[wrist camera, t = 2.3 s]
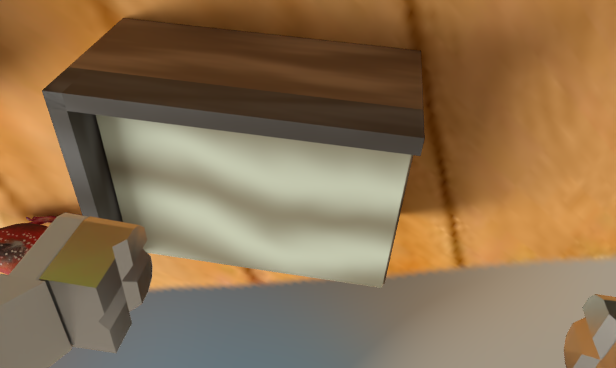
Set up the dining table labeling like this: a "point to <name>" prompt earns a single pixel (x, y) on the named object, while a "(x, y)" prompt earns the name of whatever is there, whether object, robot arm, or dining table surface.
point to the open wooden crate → (244, 145)
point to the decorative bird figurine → (19, 241)
